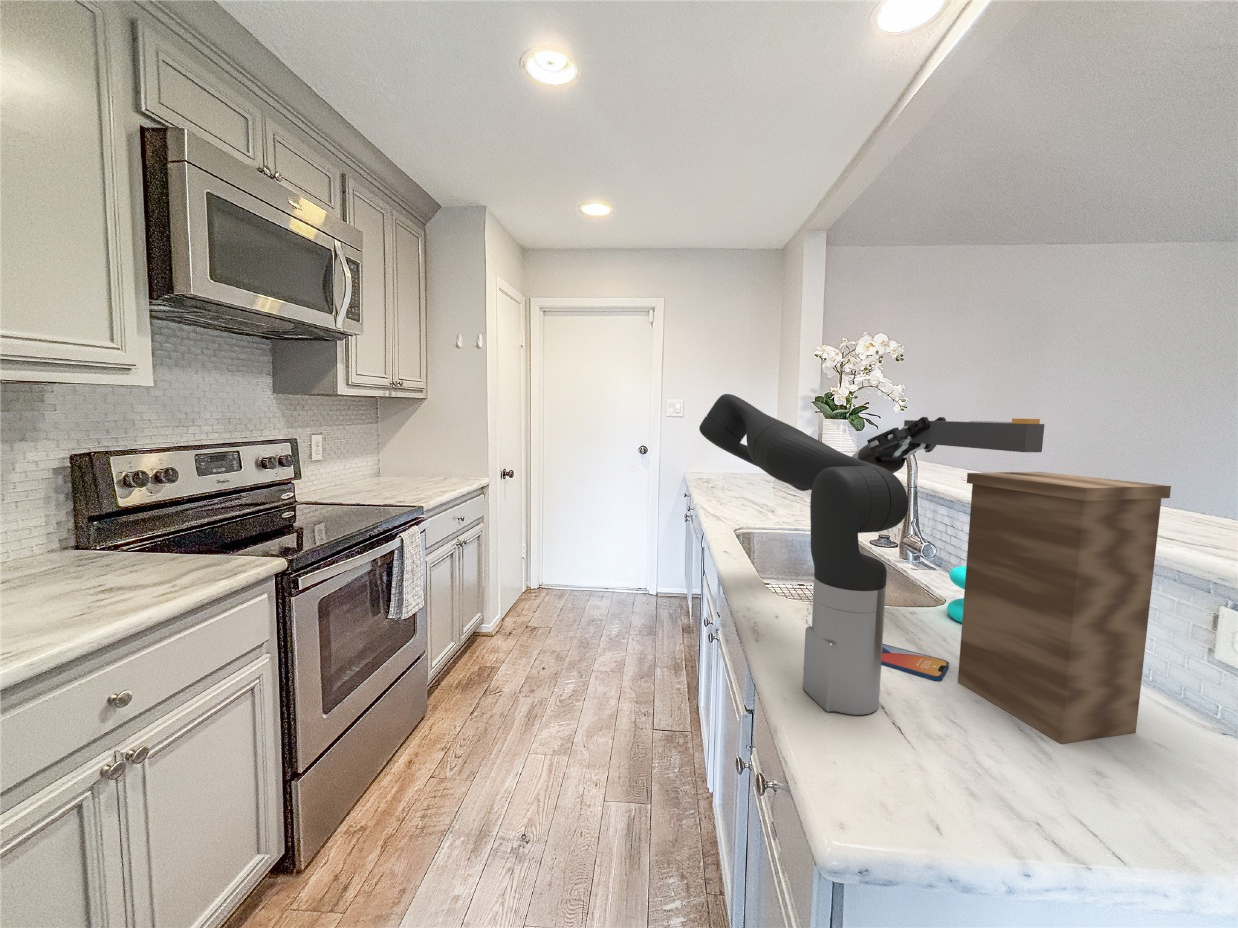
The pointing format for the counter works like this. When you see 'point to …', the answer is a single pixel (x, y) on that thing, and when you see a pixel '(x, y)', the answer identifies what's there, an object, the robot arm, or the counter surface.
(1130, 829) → the counter surface
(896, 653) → the smartphone
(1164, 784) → the counter surface
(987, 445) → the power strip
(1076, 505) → the wooden lidded box
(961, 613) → the turquoise spool
